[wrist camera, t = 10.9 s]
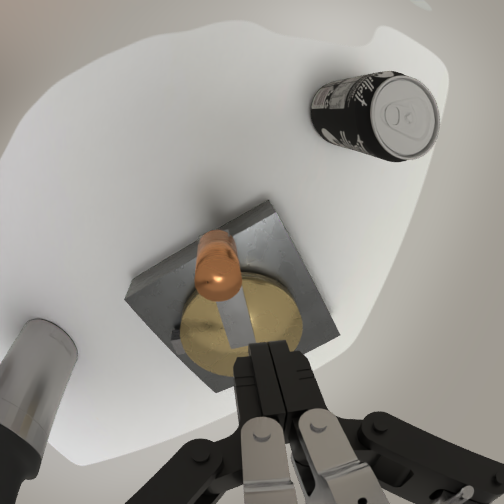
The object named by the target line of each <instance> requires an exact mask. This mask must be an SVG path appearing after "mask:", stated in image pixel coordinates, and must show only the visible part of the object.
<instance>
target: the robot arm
mask: <svg viewBox="0 0 504 504" xmlns="http://www.w3.org/2000/svg"><path fill="white" fill-rule="evenodd" d="M77 356H78V355H77V350H76V347H75V345H74V343H73V342H72V340H71V339H70V338H69V336H68V335H67V334H66V333H65V332H64V331H63V330H61V329H60V328H59V327H57V326H56V325H54V324H52V323H50V322H48V321H45V320H40V319H34V320H31V321H29V322H28V323H26V325H25V326H24V328H23V329H22V331H21V332H20V334H19V335H18V337H17V338H16V340H15V341H14V343H13V344H12V346H11V348H10V349H9V351H8V352H7V354H6V356H5V357H4V359H3V361H2V362H1V364H0V504H15V502H16V498H17V495H18V492H19V489H20V486H21V483H22V482H23V481H24V480H25V479H27V480H31V479H34V478H36V476H37V475H38V472H39V469H40V465H41V461H42V458H43V454H44V451H45V448H46V444H47V441H48V437H49V434H50V431H51V428H52V425H53V422H54V419H55V416H56V413H57V410H58V408H59V405H60V402H61V399H62V397H63V394H64V391H65V389H66V386H67V383H68V381H69V378H70V376H71V373H72V371H73V368H74V366H75V363H76V361H77ZM233 376H234V391H235V399H236V406H237V413H238V421H239V427H238V428H237V430H236V431H235V432H234V433H233V434H232V435H230V436H229V437H227V438H225V439H222V440H219V441H216V442H212V441H210V440H207V439H194V440H191V441H189V442H187V443H186V444H184V445H183V446H182V447H181V448H180V449H179V451H178V452H177V453H176V454H175V455H174V456H173V457H172V458H171V459H170V460H169V461H168V462H167V463H166V464H165V465H164V466H163V467H162V468H161V469H160V470H159V471H158V472H157V473H156V474H155V475H154V476H153V477H152V478H151V479H150V480H149V481H148V482H147V483H146V484H145V485H144V486H143V487H142V488H141V489H140V490H139V491H138V492H137V493H135V494H134V495H133V496H132V497H131V498H130V499H129V500H128V501H127V502H126V503H125V504H216V503H217V502H218V500H219V499H220V498H221V497H222V496H223V494H224V493H225V492H226V491H227V490H230V489H233V488H235V487H238V486H240V485H242V484H243V485H244V503H245V504H297V498H296V492H295V487H294V484H293V482H292V481H291V479H290V473H289V466H288V460H287V453H286V447H285V444H287V443H290V446H291V450H292V453H291V461H292V464H293V467H294V470H295V473H296V475H297V478H298V481H299V484H300V486H301V489H302V492H303V494H304V497H305V504H390V503H389V502H388V500H387V498H386V496H385V494H384V492H383V490H382V488H383V489H385V490H387V491H389V492H391V493H393V494H396V495H398V496H399V497H402V498H404V499H406V500H408V501H410V502H413V503H415V504H491V503H492V501H494V500H495V499H497V498H498V497H500V496H501V495H502V494H504V464H502V463H499V462H497V461H494V460H492V459H489V458H486V457H484V456H481V455H479V454H476V453H474V452H471V451H469V450H466V449H464V448H462V447H459V446H457V445H455V444H452V443H450V442H448V441H445V440H443V439H441V438H439V437H437V436H434V435H432V434H430V433H428V432H426V431H423V430H421V429H419V428H417V427H415V426H413V425H411V424H409V423H406V422H404V421H402V420H400V419H398V418H396V417H394V416H392V415H390V414H388V413H385V412H373V413H370V414H368V415H367V416H366V417H365V418H364V419H363V420H355V419H343V418H340V417H337V416H335V415H334V414H333V413H331V412H330V411H329V410H328V409H327V407H326V405H325V402H324V399H323V397H322V394H321V392H320V389H319V386H318V384H317V381H316V379H315V377H314V374H313V371H312V370H311V366H310V363H309V361H308V358H306V357H305V356H304V355H303V354H302V353H301V352H300V351H292V352H290V350H289V347H288V344H287V342H286V340H278V341H269V342H259V343H249V344H248V356H246V357H237V359H236V361H235V363H234V366H233Z"/></svg>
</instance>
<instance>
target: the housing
mask: <svg viewBox="0 0 504 504" xmlns="http://www.w3.org/2000/svg"><path fill="white" fill-rule="evenodd" d="M227 229H229V233H230V235H231V236H232V237H233V239H234V240H235V243H236V248H237V254H238V259H239V265H240V271H241V272H247V273H256V274H261V275H264V276H267V277H270V278H272V279H274V280H276V281H277V282H279V283H280V284H282V285H283V286H284V287H285V288H286V289H287V290H288V291H289V292H290V293H291V295H292V296H293V298H294V300H295V303H296V305H297V307H298V310H299V312H300V315H301V318H302V324H303V329H302V335H301V339H300V341H299V343H298V346H297V347H296V349H295V350H294V351H300V352H301V353H302V354H305V353H307V352H309V351H311V350H313V349H315V348H317V347H319V346H321V345H323V344H325V343H327V342H328V341H330V340H332V339H334V338H336V337H338V336H340V334H339V332H338V330H337V327H336V325H335V323H334V321H333V319H332V317H331V315H330V313H329V311H328V309H327V307H326V305H325V303H324V301H323V300H322V298H321V296H320V294H319V292H318V290H317V288H316V286H315V284H314V282H313V280H312V278H311V276H310V274H309V272H308V270H307V268H306V266H305V265H304V263H303V261H302V259H301V257H300V255H299V253H298V251H297V249H296V248H295V246H294V244H293V242H292V240H291V238H290V236H289V234H288V233H287V231H286V229H285V227H284V225H283V223H282V221H281V220H280V218H279V216H278V214H277V212H276V211H275V209H274V208H273V206H272V204H271V203H270V201H269V200H268V201H266V202H264V203H262V204H261V205H259V206H257V207H255V208H253V209H252V210H250V211H248V212H246V213H245V214H243V215H241V216H239V217H237V218H236V219H234V220H232V221H230V222H229V223H227V224H225V225H223V226H222V227H220V228H218V229H216V230H222V231H223V230H227ZM198 242H199V240H198V241H196V242H194V243H192V244H191V245H189V246H187V247H186V248H184V249H182V250H181V251H179V252H177V253H175V254H174V255H172V256H170V257H169V258H167V259H165V260H164V261H162V262H160V263H159V264H157V265H155V266H154V267H152V268H151V269H149V270H147V271H146V272H144V273H142V274H141V275H139V276H137V277H136V278H134V279H133V280H132V282H131V284H130V287H129V289H128V292H127V294H126V296H125V299H124V300H125V301H126V302H127V303H128V304H129V305H130V307H131V308H132V309H133V310H134V311H135V312H136V313H137V314H138V316H139V317H140V318H141V319H142V320H143V321H144V322H145V323H146V324H147V326H148V327H149V328H150V329H151V330H152V331H153V332H154V333H155V334H156V335H157V336H158V337H159V338H160V339H161V340H162V342H163V343H164V344H165V345H166V346H167V347H168V348H169V349H170V350H171V351H172V352H173V353H174V354H175V355H176V356H177V357H178V358H179V359H180V360H181V361H182V362H183V363H184V364H185V365H186V366H187V367H188V368H189V369H190V370H191V371H192V372H194V373H195V374H196V375H197V376H198V377H199V378H200V379H201V380H202V381H203V382H204V383H205V384H206V385H207V386H208V387H210V388H211V389H212V390H213V391H214V392H215V393H218V392H220V391H223V390H225V389H228V388H230V387H232V386H234V377H230V376H223V375H218V374H215V373H212V372H209V371H207V370H205V369H203V368H202V367H200V366H198V365H197V364H196V363H194V362H193V361H192V360H191V359H190V357H189V356H188V355H187V354H180V355H177V353H176V351H175V349H174V347H173V345H172V343H171V334H172V331H173V330H179V329H180V326H181V317H182V312H183V309H184V306H185V304H186V302H187V300H188V298H189V297H190V296H191V295H192V293H193V292H194V291H195V290H196V287H195V282H194V281H195V269H196V259H197V249H198Z"/></svg>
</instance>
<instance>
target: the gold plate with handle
mask: <svg viewBox="0 0 504 504" xmlns="http://www.w3.org/2000/svg"><path fill="white" fill-rule="evenodd" d="M194 282H195V287H196V290H195V291H194V292H193V293H192V295H191V296H190V297H189V298H188V300H187V302H186V304H185V306H184V309H183V312H182V317H181V326H180V329H179V330H173V331H172V334H171V343H172V345H173V347H174V349H175V351H176V353H177V355H180V354H187V355H188V356H189V357H190V359H191V360H192V361H193V362H194V363H196V364H197V365H198V366H200V367H202V368H203V369H205V370H207V371H209V372H212V373H215V374H218V375H223V376H230V377H234V376H233V366H234V363H235V361H236V359H237V357H246V356H248V344H249V343H259V342H269V341H278V340H286V342H287V344H288V347H289V350H290V352H292V351H294V350H295V349H296V347H297V346H298V343H299V341H300V339H301V335H302V329H303V324H302V318H301V315H300V312H299V310H298V307H297V305H296V303H295V300H294V298H293V296H292V295H291V293H290V292H289V291H288V290H287V289H286V288H285V287H284V286H283V285H282V284H280V283H279V282H277V281H276V280H274V279H272V278H270V277H267V276H264V275H261V274H256V273H247V272H241V271H240V265H239V259H238V254H237V248H236V243H235V240H234V239H233V237H232V236H231V235H230V233H229V229H227V230H223V231H222V230H212V231H209V232H207V233H205V234H204V235H201V236H199V242H198V249H197V259H196V269H195V281H194Z"/></svg>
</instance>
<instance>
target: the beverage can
mask: <svg viewBox="0 0 504 504" xmlns="http://www.w3.org/2000/svg"><path fill="white" fill-rule="evenodd" d="M311 117H312V121H313V124H314V127H315V128H316V130H317V132H318V133H319V134H320V135H321V136H322V137H323V138H324V139H325V140H326V141H328V142H330V143H332V144H334V145H338V146H341V147H345V148H348V149H352V150H355V151H358V152H362V153H365V154H368V155H371V156H374V157H377V158H380V159H383V160H386V161H390V162H402V161H406V160H413V159H417V158H420V157H422V156H423V155H425V154H426V153H427V152H428V151H429V150H430V149H431V148H432V147H433V145H434V143H435V142H436V139H437V137H438V133H439V128H440V115H439V110H438V106H437V103H436V101H435V98H434V97H433V95H432V93H431V92H430V91H429V89H428V88H427V87H426V86H425V85H424V84H423V83H421V82H420V81H418V80H417V79H415V78H412V77H409V76H406V75H404V74H402V73H398V72H394V71H384V72H378V73H373V74H368V75H363V76H358V77H353V78H348V79H344V80H339V81H335V82H331V83H328V84H326V85H325V86H323V87H322V88H321V89H320V90H319V91H318V92H317V93H316V95H315V97H314V99H313V102H312V106H311Z"/></svg>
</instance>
